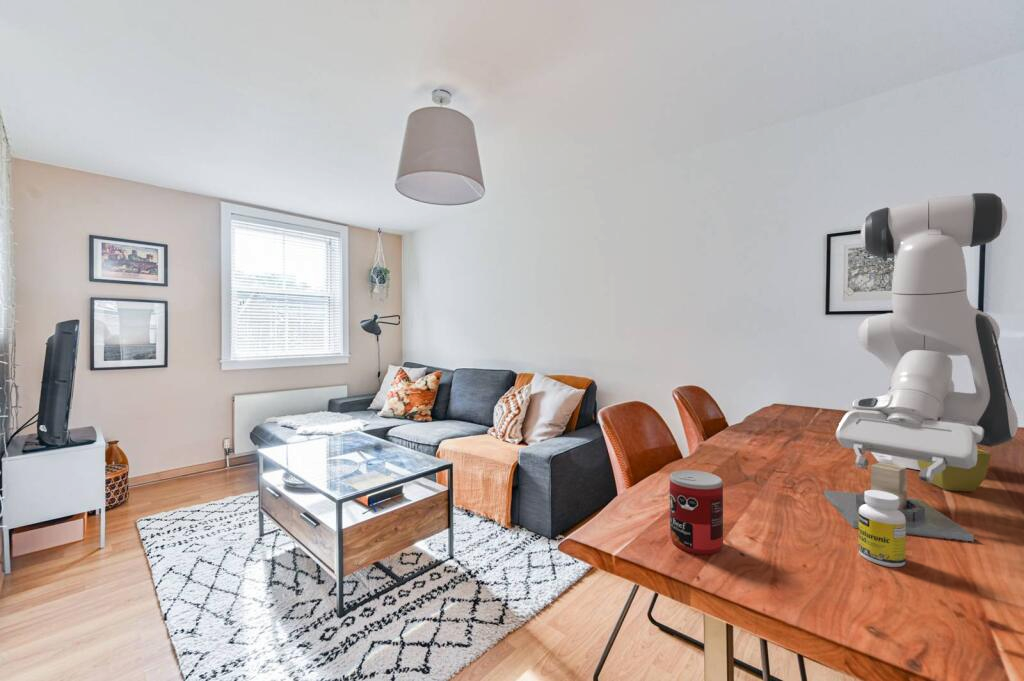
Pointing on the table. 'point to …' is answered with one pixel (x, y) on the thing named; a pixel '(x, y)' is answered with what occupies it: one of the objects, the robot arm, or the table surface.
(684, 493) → the canned food
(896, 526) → the supplement bottle
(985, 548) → the table surface
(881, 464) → the birch block
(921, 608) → the table surface
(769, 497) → the table surface
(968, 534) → the grey square socket board
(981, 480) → the flower pot
